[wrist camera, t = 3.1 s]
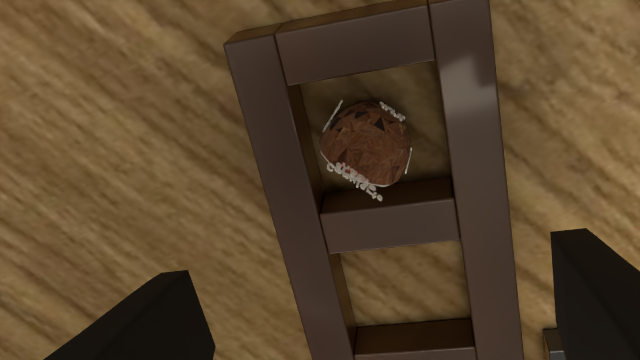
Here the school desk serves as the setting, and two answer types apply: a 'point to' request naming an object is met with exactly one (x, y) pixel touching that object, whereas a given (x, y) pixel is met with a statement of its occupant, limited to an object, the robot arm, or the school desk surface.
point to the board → (553, 345)
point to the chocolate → (367, 145)
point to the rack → (398, 199)
